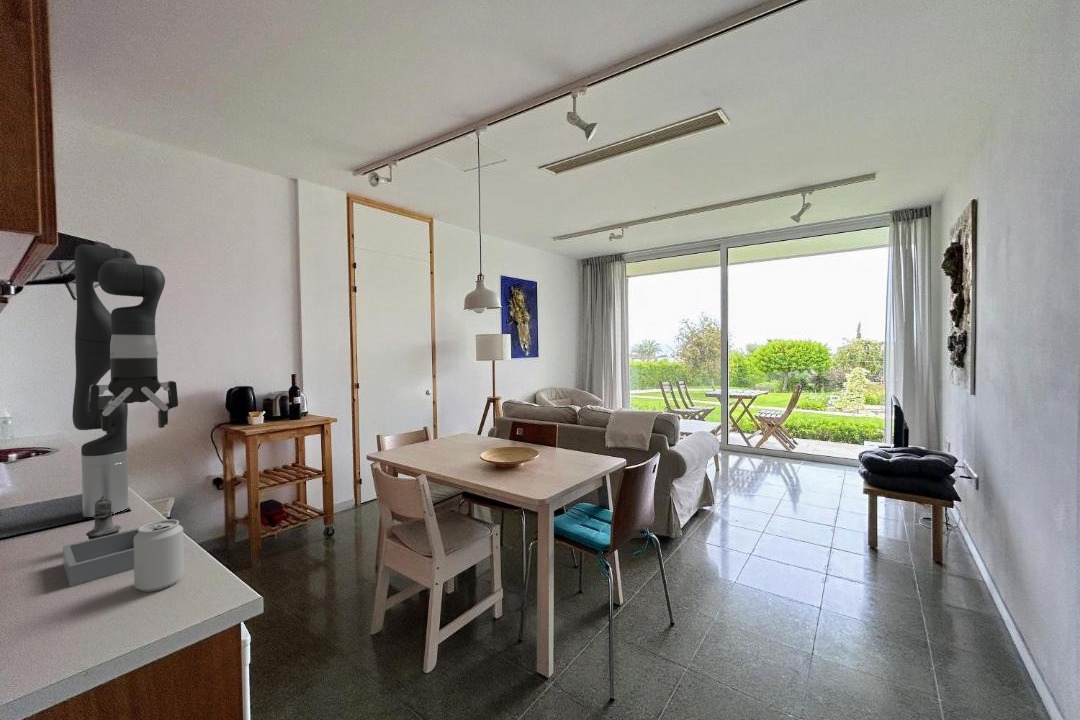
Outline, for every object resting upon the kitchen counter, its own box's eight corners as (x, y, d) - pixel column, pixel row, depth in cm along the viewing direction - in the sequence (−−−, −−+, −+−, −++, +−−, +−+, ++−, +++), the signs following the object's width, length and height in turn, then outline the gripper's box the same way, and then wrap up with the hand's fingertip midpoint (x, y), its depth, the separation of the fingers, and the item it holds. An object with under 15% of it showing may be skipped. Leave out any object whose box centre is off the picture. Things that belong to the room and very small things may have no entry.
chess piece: (99, 552, 101) (97, 500, 101) (79, 549, 102) (78, 498, 102) (127, 541, 107) (126, 492, 106) (108, 538, 108) (107, 490, 108)
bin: (63, 564, 95) (62, 546, 95) (148, 542, 106) (148, 525, 106) (69, 586, 86) (69, 566, 86) (162, 560, 97) (161, 542, 97)
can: (142, 598, 83) (141, 535, 82) (128, 586, 87) (127, 526, 86) (190, 580, 89) (189, 522, 89) (175, 570, 93) (174, 514, 93)
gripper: (171, 355, 103) (173, 423, 104) (85, 356, 92) (87, 432, 93) (180, 356, 99) (181, 427, 99) (89, 356, 88) (91, 437, 88)
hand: (135, 430), depth 96 cm, fingers open, 8 cm apart
